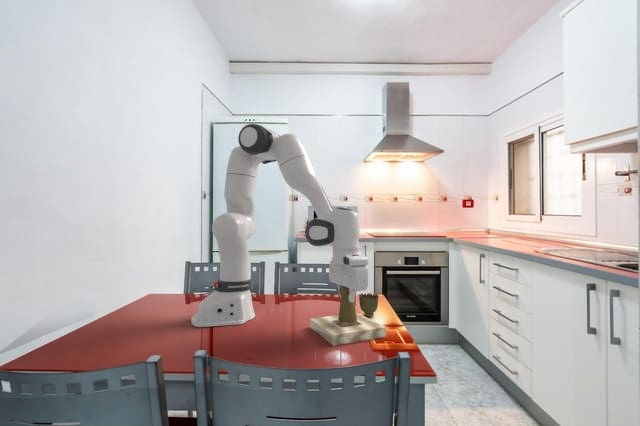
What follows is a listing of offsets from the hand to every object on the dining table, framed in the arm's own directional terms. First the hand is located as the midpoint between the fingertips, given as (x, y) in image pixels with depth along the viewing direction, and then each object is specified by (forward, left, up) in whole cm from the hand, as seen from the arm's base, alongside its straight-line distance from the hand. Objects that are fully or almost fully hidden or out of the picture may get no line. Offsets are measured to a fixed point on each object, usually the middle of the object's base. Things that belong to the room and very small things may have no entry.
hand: (347, 299), depth 108 cm
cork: (0, 0, -7) cm, 7 cm away
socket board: (0, 0, -10) cm, 10 cm away
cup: (+16, +12, -11) cm, 22 cm away
